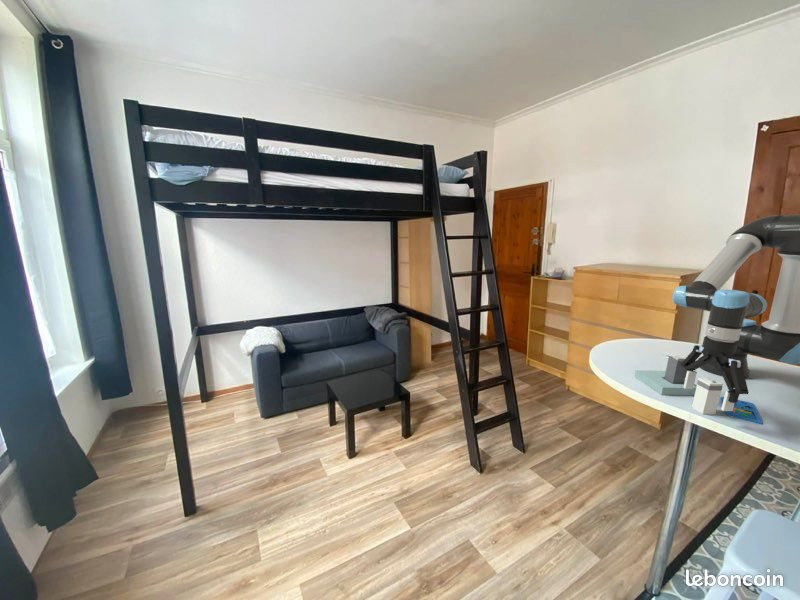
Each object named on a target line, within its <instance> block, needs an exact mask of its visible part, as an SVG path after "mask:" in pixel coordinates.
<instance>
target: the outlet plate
mask: <svg viewBox="0 0 800 600" xmlns="http://www.w3.org/2000/svg"><path fill="white" fill-rule="evenodd" d="M665 372H666V370H644V369H643V370H640V369H639V370H635V372H634V378H635V379H637V380H639V381H640V382H641V383H643V384H644V385H645V386H647V387H649V388H650V389H652V390H653V391H655V392H656V393H658V394H660V395H661V396H695V392H696V387H697V383H696V384H695V383H694V387H693V389H685V388H683V387H684V384H672V383H670V382H668V381H667V380H665V379H664V377H665ZM684 383H685V380H684Z"/></svg>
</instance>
